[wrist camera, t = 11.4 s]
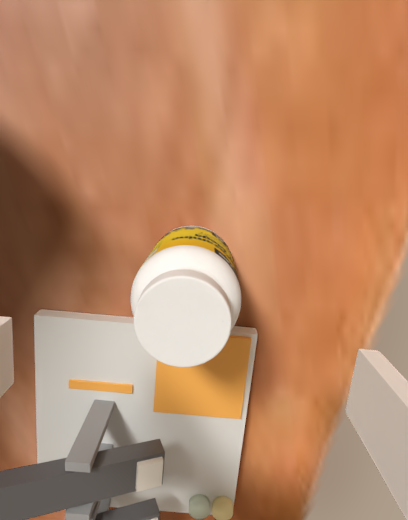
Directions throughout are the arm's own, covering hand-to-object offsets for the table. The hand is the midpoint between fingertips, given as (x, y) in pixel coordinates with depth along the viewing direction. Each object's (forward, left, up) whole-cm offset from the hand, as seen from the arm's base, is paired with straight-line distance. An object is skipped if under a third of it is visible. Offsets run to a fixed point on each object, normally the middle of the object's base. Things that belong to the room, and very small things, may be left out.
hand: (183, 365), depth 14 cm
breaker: (-6, -14, -8) cm, 17 cm away
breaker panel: (-3, -13, -14) cm, 20 cm away
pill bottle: (0, 0, -15) cm, 15 cm away
